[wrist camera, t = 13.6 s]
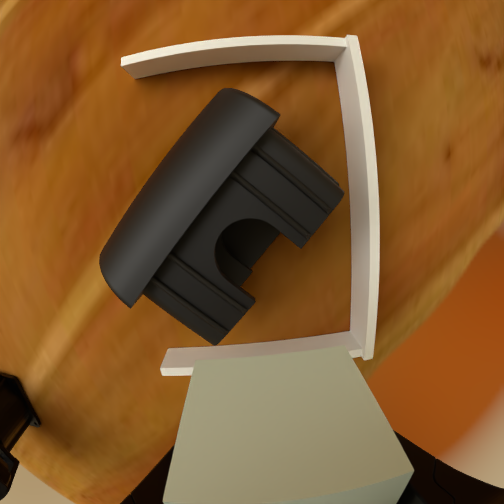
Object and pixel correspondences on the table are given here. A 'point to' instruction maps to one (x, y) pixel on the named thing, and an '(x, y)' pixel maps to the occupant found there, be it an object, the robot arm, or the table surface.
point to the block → (284, 434)
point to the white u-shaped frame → (359, 177)
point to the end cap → (216, 215)
